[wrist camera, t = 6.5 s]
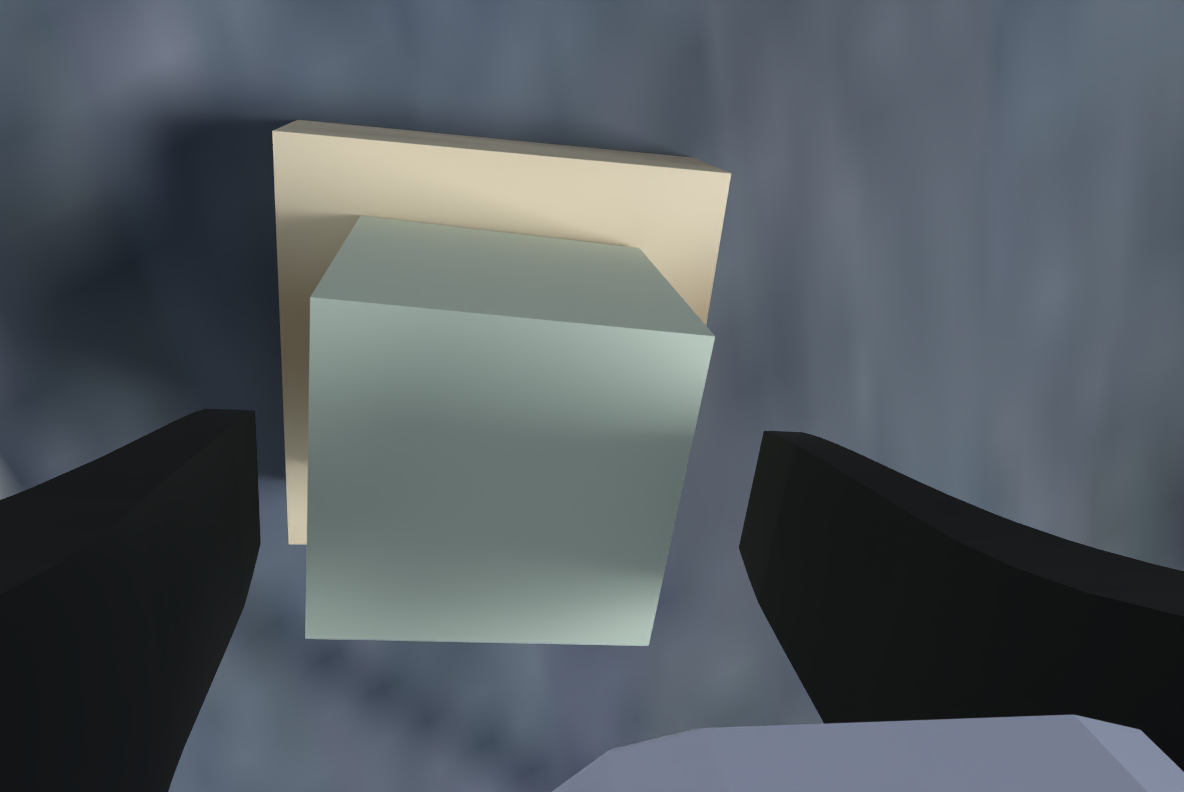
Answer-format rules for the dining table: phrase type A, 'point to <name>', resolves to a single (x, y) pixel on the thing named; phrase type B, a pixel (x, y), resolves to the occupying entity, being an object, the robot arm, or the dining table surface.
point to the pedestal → (471, 220)
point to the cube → (494, 437)
